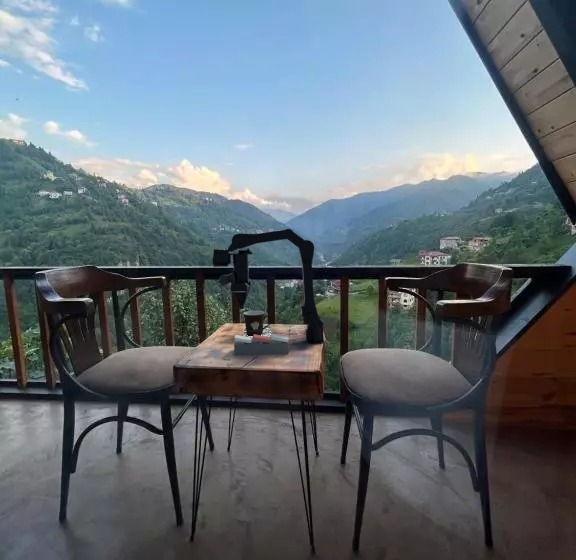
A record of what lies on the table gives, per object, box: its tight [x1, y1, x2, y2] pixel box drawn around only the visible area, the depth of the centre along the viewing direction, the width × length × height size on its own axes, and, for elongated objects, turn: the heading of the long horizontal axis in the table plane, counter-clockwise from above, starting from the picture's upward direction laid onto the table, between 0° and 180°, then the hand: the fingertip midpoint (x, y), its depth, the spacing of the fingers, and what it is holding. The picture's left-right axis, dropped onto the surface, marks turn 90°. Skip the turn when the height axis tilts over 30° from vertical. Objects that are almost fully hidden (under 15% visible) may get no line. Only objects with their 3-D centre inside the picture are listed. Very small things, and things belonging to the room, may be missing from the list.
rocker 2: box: [270, 333, 289, 343], centre depth 128 cm, size 6×4×1 cm, turn 91°
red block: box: [253, 334, 271, 343], centre depth 128 cm, size 6×4×1 cm, turn 91°
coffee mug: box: [243, 310, 274, 336], centre depth 150 cm, size 12×9×10 cm
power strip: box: [233, 336, 289, 357], centre depth 130 cm, size 19×8×5 cm, turn 92°
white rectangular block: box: [233, 334, 252, 343], centre depth 128 cm, size 6×4×1 cm, turn 91°
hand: (242, 306), depth 140 cm, fingers open, 9 cm apart
